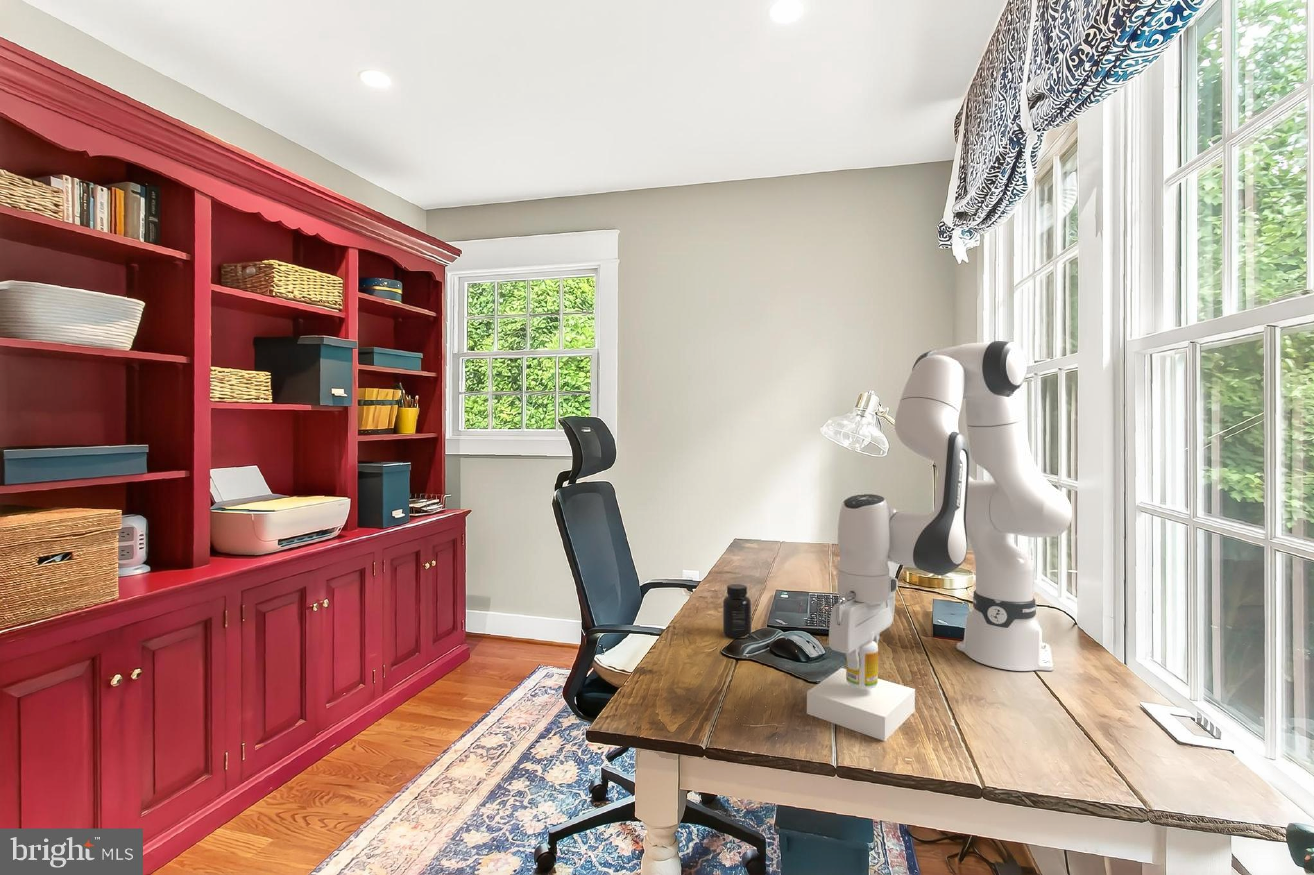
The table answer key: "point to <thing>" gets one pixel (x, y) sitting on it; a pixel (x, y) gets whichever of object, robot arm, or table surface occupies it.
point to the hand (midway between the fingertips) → (862, 662)
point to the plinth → (861, 705)
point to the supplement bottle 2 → (865, 666)
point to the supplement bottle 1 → (736, 612)
